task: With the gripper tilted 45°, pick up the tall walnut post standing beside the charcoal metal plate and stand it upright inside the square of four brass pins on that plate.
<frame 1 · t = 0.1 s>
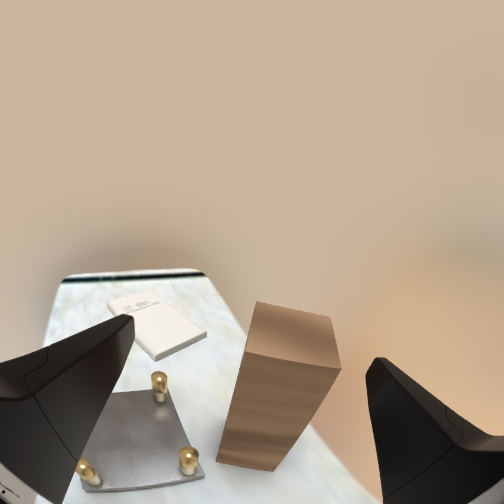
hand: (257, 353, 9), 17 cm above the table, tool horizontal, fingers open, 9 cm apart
walnut post: (248, 445, 20), on the table
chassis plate: (129, 440, 17), on the table
external hard drive: (153, 326, 34), on the table
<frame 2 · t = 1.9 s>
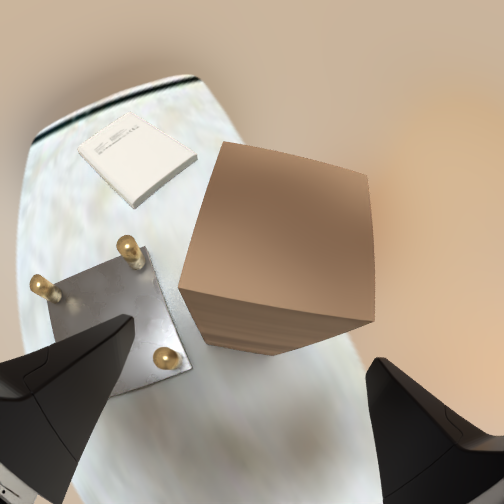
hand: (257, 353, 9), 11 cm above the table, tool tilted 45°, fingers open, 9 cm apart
walnut post: (245, 318, 20), on the table
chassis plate: (110, 328, 18), on the table
external hard drive: (133, 159, 26), on the table
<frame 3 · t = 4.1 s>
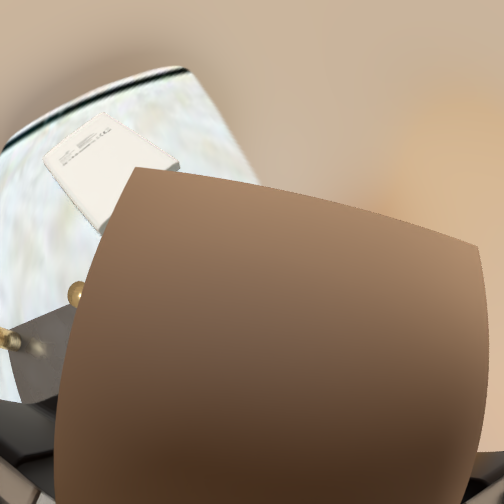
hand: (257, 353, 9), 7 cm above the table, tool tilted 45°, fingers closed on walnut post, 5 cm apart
walnut post: (238, 381, 15), on the table, touching gripper
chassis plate: (76, 386, 13), on the table
external hard drive: (104, 169, 21), on the table
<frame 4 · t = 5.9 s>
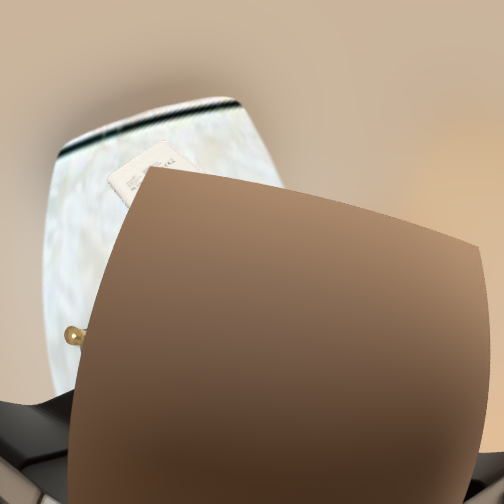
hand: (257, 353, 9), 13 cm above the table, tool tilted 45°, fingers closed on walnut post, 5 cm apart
walnut post: (238, 381, 15), point 6 cm above the table, touching gripper
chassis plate: (145, 378, 19), on the table
external hard drive: (169, 197, 27), on the table
when the fingers open (9 cm above the table, at t = 8.2 s): walnut post stays where it is, resting on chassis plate.
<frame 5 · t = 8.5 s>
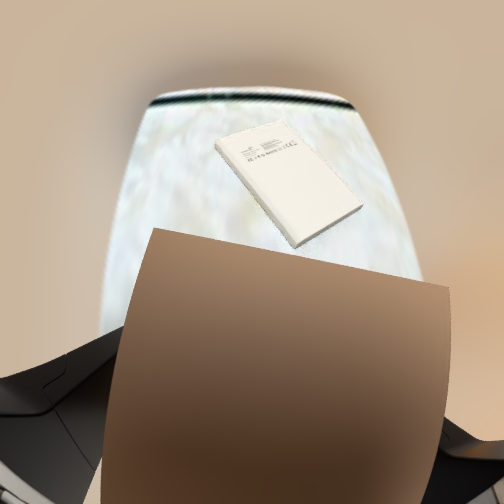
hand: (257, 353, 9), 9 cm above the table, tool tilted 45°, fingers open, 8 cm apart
walnut post: (237, 381, 15), point 1 cm above the table, touching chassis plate
external hard drive: (285, 180, 25), on the table
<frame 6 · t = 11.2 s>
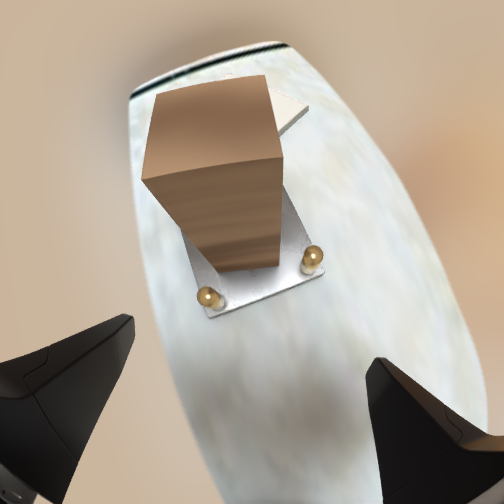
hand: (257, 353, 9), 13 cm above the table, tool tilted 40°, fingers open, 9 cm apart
walnut post: (245, 240, 23), point 1 cm above the table, touching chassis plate
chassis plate: (246, 244, 24), on the table
external hard drive: (246, 111, 30), on the table
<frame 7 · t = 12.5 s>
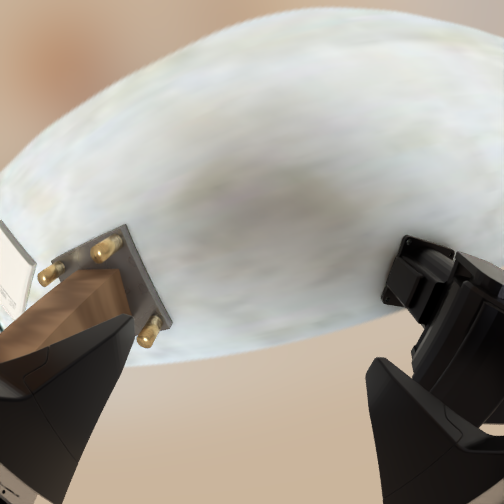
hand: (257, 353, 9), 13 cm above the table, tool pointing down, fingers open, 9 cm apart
walnut post: (104, 294, 22), point 1 cm above the table, touching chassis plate
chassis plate: (108, 289, 23), on the table
external hard drive: (13, 273, 24), on the table
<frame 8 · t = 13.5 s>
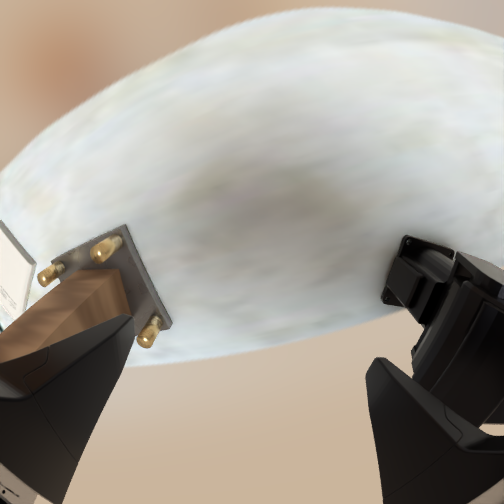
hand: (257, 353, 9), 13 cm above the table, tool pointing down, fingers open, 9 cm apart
walnut post: (103, 294, 22), point 1 cm above the table, touching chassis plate
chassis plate: (108, 289, 23), on the table
external hard drive: (13, 273, 24), on the table
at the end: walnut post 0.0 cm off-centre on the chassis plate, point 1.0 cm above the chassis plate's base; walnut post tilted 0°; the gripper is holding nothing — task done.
